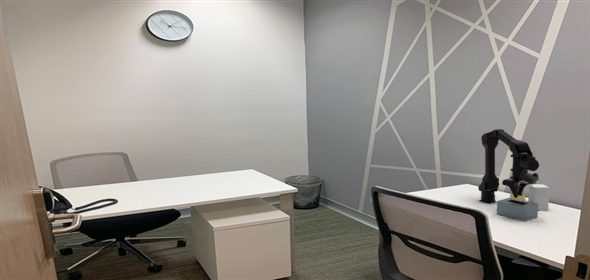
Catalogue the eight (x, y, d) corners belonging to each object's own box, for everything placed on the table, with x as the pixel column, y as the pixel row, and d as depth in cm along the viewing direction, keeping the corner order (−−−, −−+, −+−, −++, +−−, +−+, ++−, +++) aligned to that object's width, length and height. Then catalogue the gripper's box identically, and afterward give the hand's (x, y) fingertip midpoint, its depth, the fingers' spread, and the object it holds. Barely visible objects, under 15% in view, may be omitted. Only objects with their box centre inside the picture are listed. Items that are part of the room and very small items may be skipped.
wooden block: (509, 198, 195) (510, 193, 195) (513, 197, 197) (513, 192, 196) (521, 201, 190) (522, 196, 190) (525, 200, 192) (525, 195, 191)
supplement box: (548, 210, 200) (549, 187, 198) (533, 210, 202) (534, 187, 200) (542, 206, 207) (543, 184, 206) (527, 206, 209) (528, 183, 207)
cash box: (496, 214, 197) (497, 201, 196) (510, 210, 203) (510, 197, 202) (524, 221, 185) (525, 207, 184) (537, 216, 191) (538, 203, 190)
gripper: (525, 172, 180) (523, 204, 182) (545, 167, 189) (544, 197, 191) (502, 168, 189) (500, 199, 191) (523, 164, 199) (521, 193, 201)
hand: (517, 197), depth 193 cm, fingers closed on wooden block, 3 cm apart
